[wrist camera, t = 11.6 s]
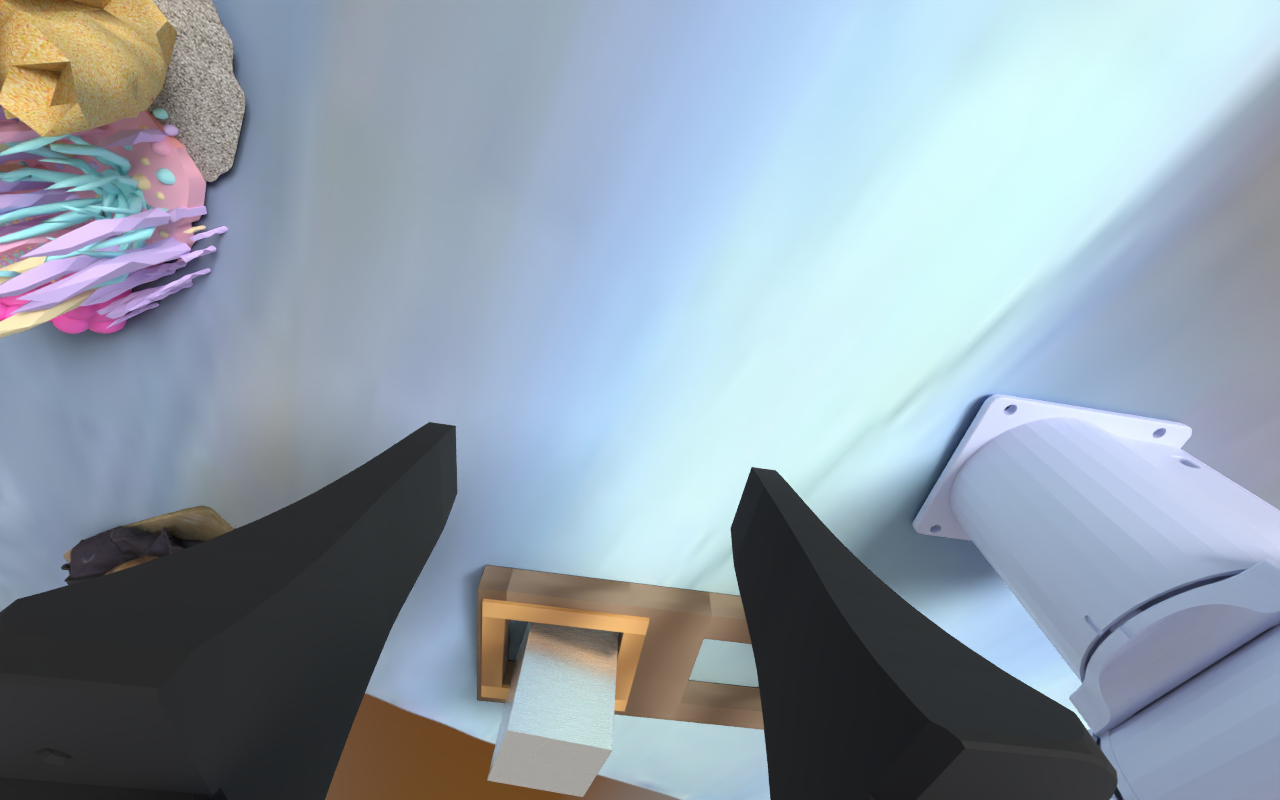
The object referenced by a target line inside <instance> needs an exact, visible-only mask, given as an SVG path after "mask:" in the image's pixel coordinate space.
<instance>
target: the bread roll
mask: <svg viewBox="0 0 1280 800" xmlns="http://www.w3.org/2000/svg"><path fill="white" fill-rule="evenodd" d="M232 530H234V529H233V528H232V527H231V526H230V525H229V524H228V523H227V522H225V521H224V520H223V519H222V518H221V517H220V516H219V515H218V514H217V513H216V512H215V511H214V510H213V509H211V508H209V507H206V506H199V507H194V508H189V509H183V510H180V511H176V512H173V513H168V514H164V515H161V516H157V517H153V518H149V519H146V520H142V521H139V522H136V523H132V524H129V525H126V526H123V527H117V528H114V529H112V530H108V531H106V532H103V533H100V534H98V535H96V536H94V537H91V538H88V539H86V540H81V541H80V543H79V544H78V545H76V546H75V547H74V548H73V549H71V550H69V551H68V552H66V553H65V555H64V558H65V559H66V560H67V561H68V562H69V563H70V564H64V565H63V566H62V567H61V569H62V570H69V574H70V575H69V576H68V578H67V579H65V582H67V584H68V585H71V584H75V583H79V582H82V581H86V580H89V579H93V578H96V577H100V576H103V575H107V574H110V573H113V572H117V571H120V570H123V569H126V568H130V567H133V566H136V565H139V564H142V563H145V562H148V561H151V560H154V559H157V558H160V557H163V556H166V555H169V554H172V553H175V552H177V551H180V550H183V549H186V548H189V547H191V546H194V545H197V544H200V543H202V542H205V541H207V540H210V539H212V538H215V537H217V536H220V535H222V534H225V533H227V532H230V531H232Z"/></svg>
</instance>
